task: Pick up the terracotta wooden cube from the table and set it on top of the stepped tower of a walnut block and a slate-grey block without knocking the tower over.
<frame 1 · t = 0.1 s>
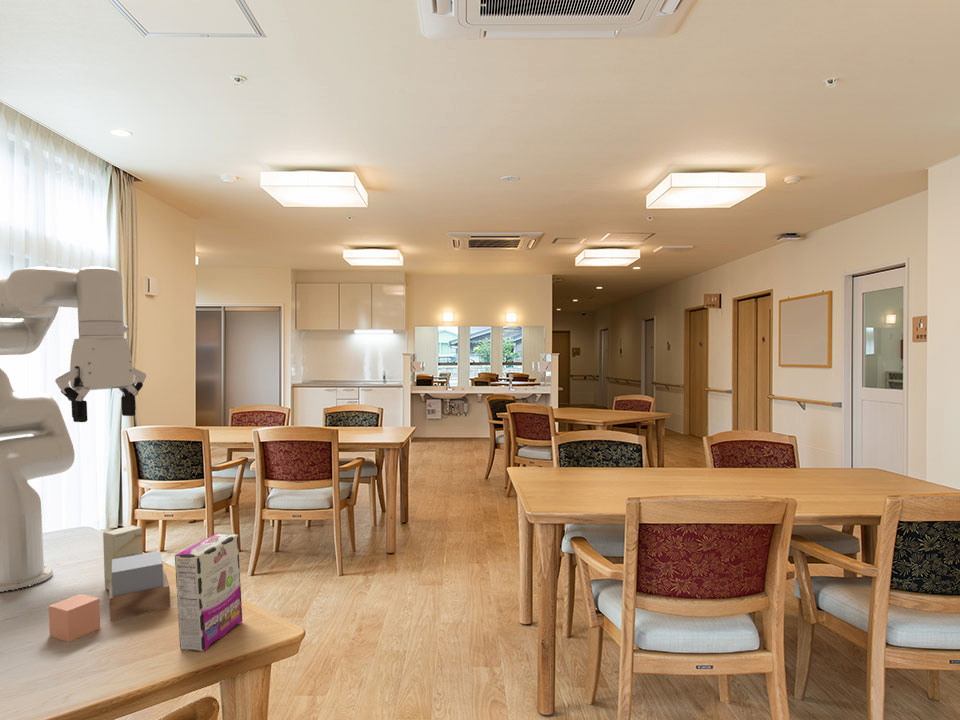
hand: (105, 418, 117), 37 cm above the table, tool pointing down, fingers open, 9 cm apart
candy bar box: (211, 637, 105), on the table
slate grey top block: (137, 583, 118), point 4 cm above the table, touching walnut base block
terracotta cube: (75, 632, 107), on the table
walnut base block: (139, 606, 118), on the table, touching slate grey top block
skincare box: (124, 586, 128), on the table
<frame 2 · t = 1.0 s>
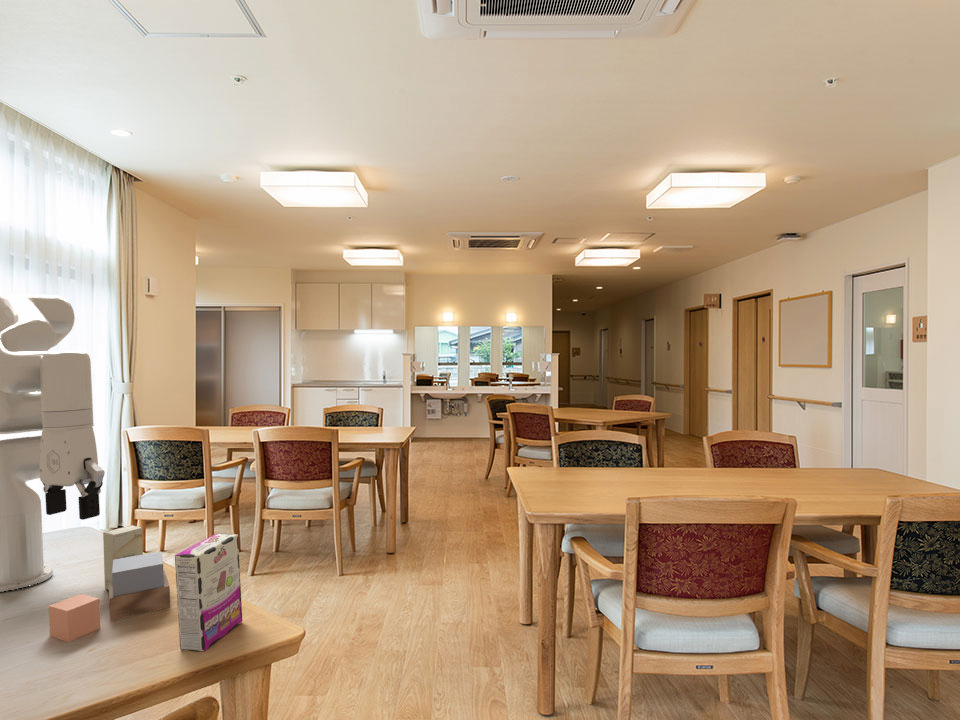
hand: (72, 515, 107), 21 cm above the table, tool pointing down, fingers open, 9 cm apart
slate grey top block: (138, 584, 118), point 4 cm above the table
walnut base block: (139, 606, 118), on the table
everything else where it was.
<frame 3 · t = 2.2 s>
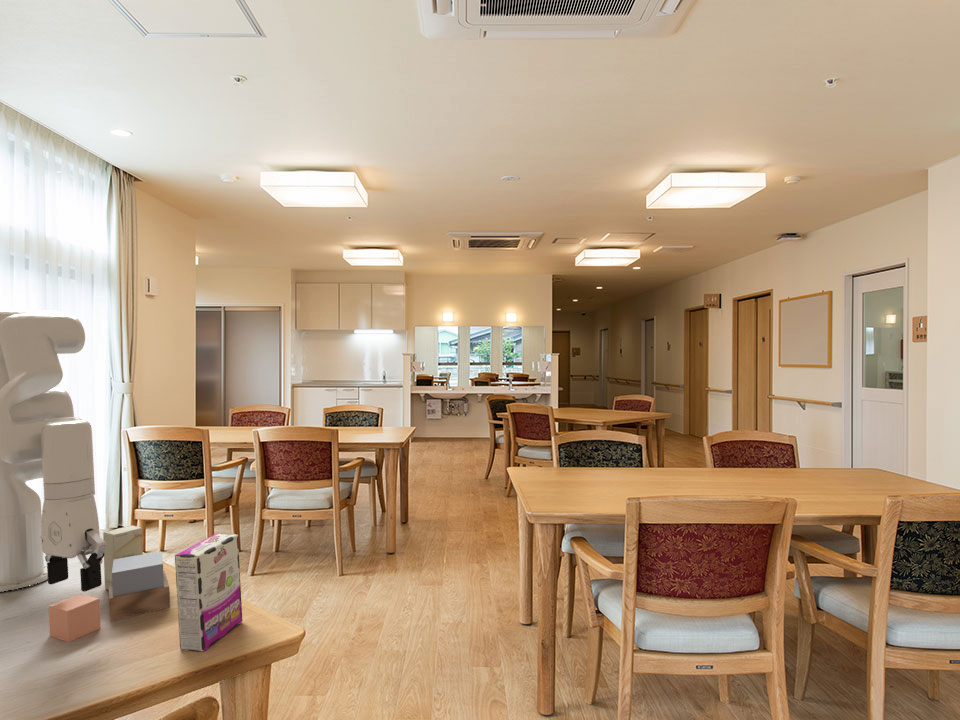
hand: (74, 585, 107), 9 cm above the table, tool pointing down, fingers open, 9 cm apart
slate grey top block: (138, 584, 118), point 4 cm above the table, touching walnut base block
walnut base block: (139, 606, 118), on the table, touching slate grey top block
everything else where it was.
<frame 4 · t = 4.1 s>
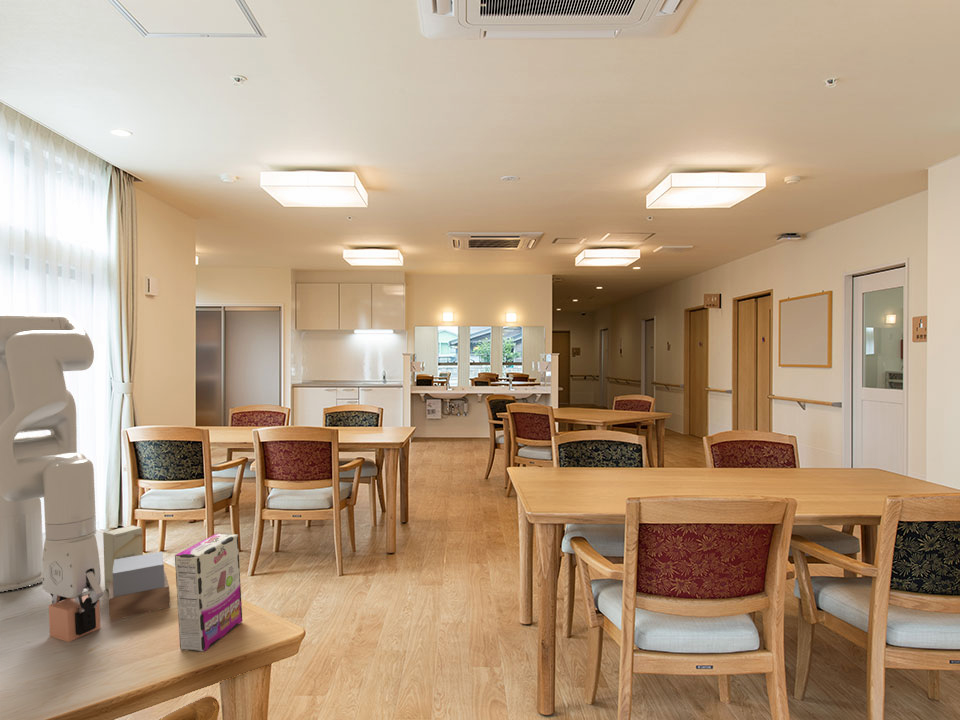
hand: (75, 627, 107), 1 cm above the table, tool pointing down, fingers closed on terracotta cube, 5 cm apart
terracotta cube: (75, 631, 107), on the table, touching gripper
everything else where it was.
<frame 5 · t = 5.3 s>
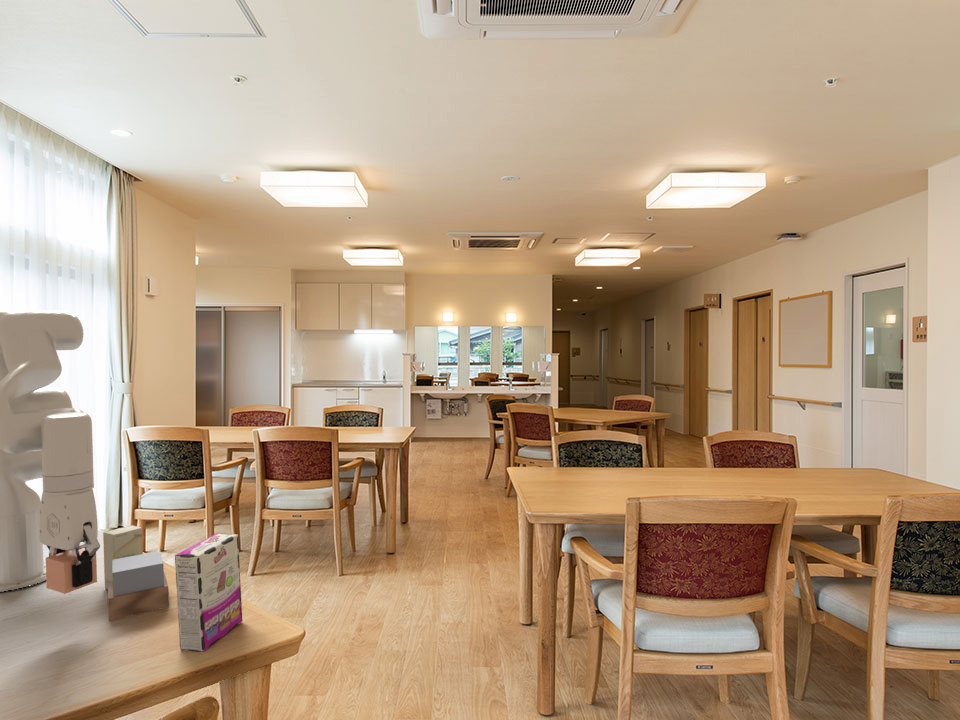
hand: (72, 580, 108), 9 cm above the table, tool pointing down, fingers closed on terracotta cube, 5 cm apart
terracotta cube: (72, 584, 108), point 8 cm above the table, touching gripper
everything else where it was.
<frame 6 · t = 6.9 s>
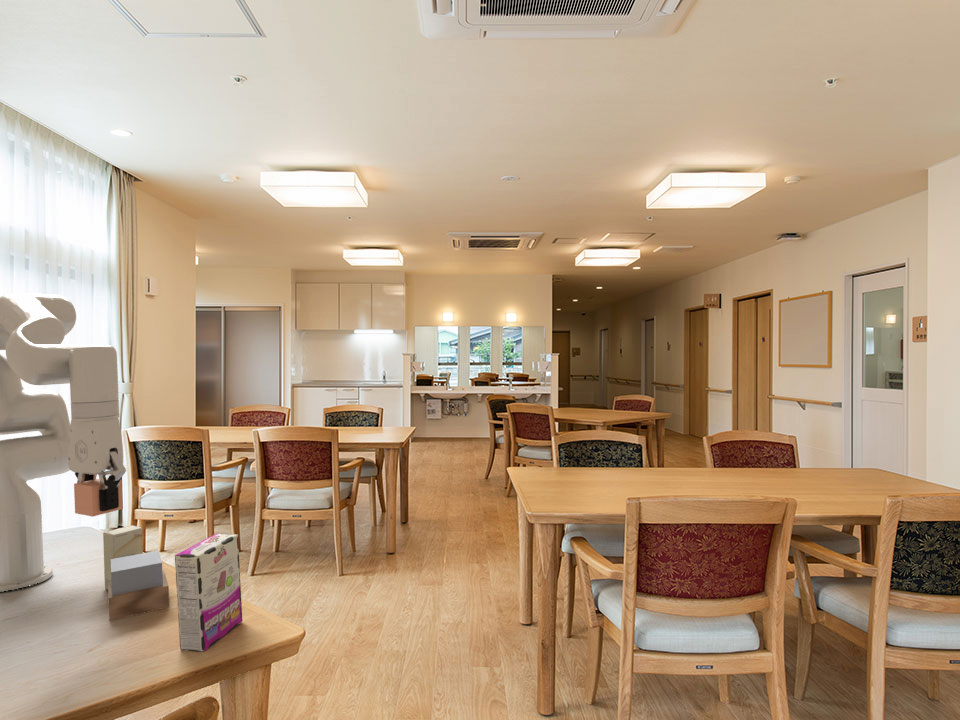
hand: (99, 506, 112), 21 cm above the table, tool pointing down, fingers closed on terracotta cube, 5 cm apart
terracotta cube: (99, 511, 112), point 21 cm above the table, touching gripper
everything else where it was.
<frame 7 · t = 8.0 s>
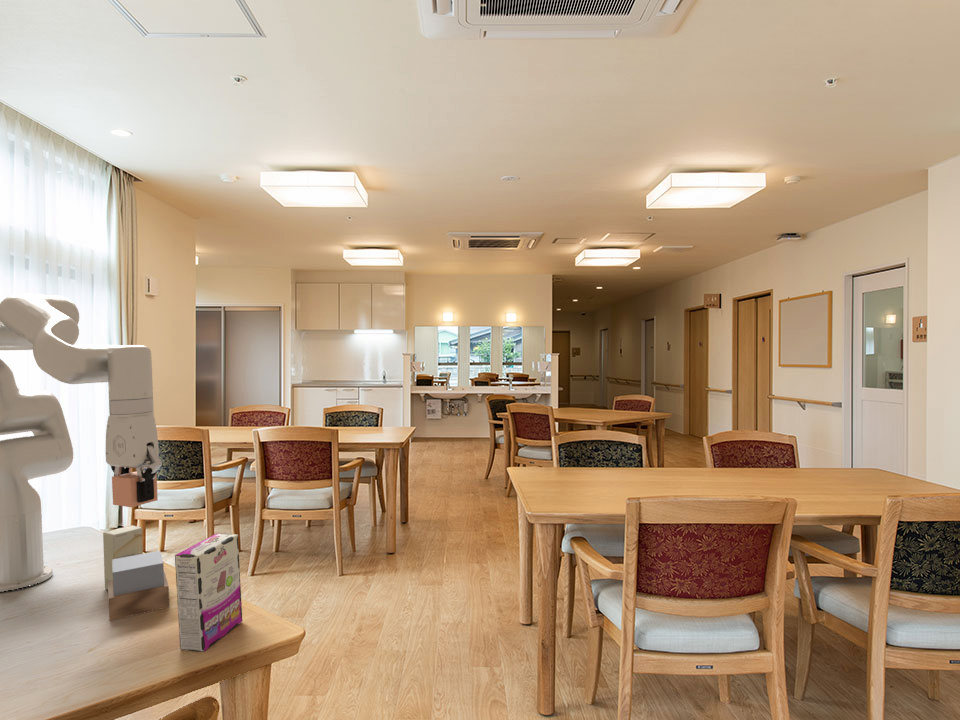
hand: (135, 498, 118), 21 cm above the table, tool pointing down, fingers closed on terracotta cube, 5 cm apart
terracotta cube: (135, 502, 118), point 20 cm above the table, touching gripper
everything else where it was.
when the fingers open (11 cm above the table, at t = 11.5 s): terracotta cube drops 1 cm, resting on slate grey top block.
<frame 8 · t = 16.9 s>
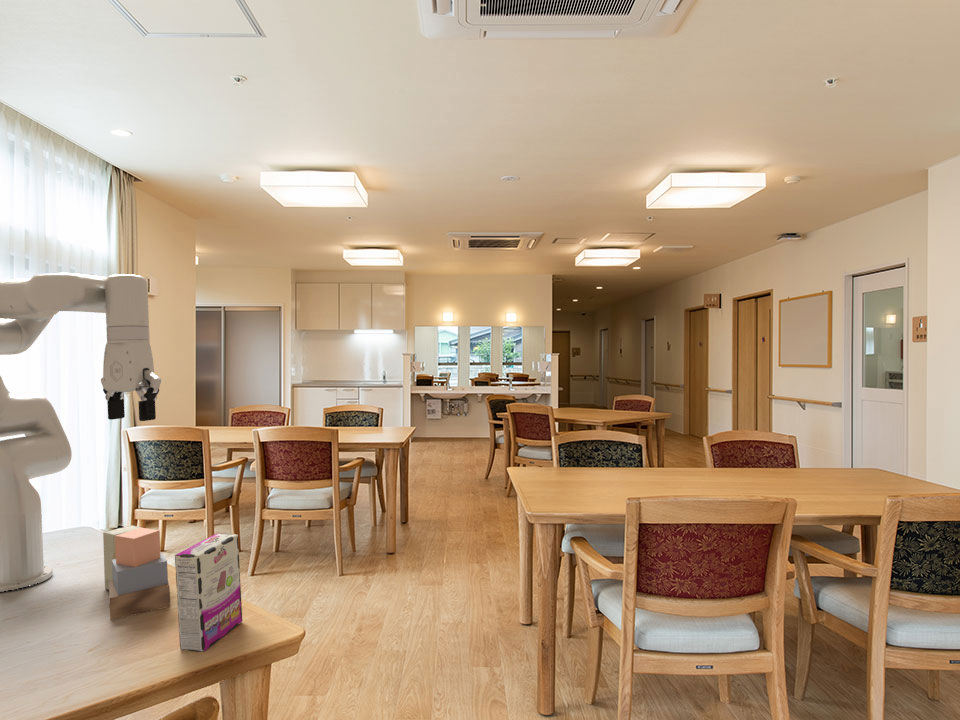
hand: (131, 419, 122), 36 cm above the table, tool pointing down, fingers open, 9 cm apart
slate grey top block: (140, 582, 119), point 4 cm above the table, touching terracotta cube, walnut base block
terracotta cube: (138, 560, 119), point 9 cm above the table, touching slate grey top block
everything else where it was.
at the end: terracotta cube 0.2 cm off-centre on the walnut base block, point 9.0 cm above the walnut base block's base; terracotta cube tilted 0°; slate grey top block 0.2 cm from the walnut base block (horizontally) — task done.
